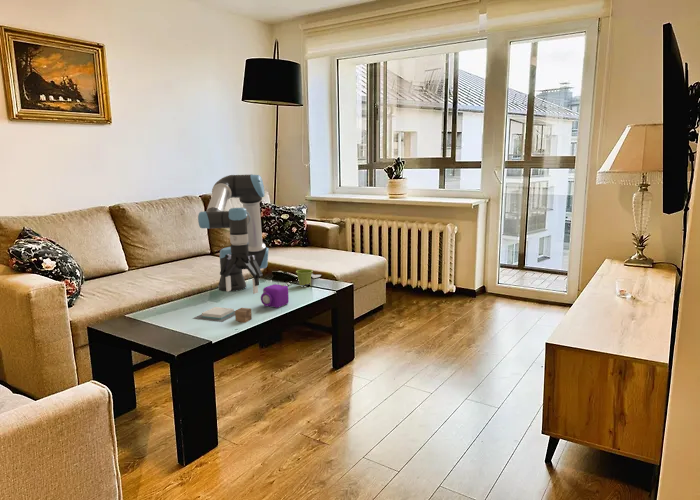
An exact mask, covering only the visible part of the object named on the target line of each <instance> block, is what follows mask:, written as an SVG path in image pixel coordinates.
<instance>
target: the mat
mask: <svg viewBox="0 0 700 500" xmlns="http://www.w3.org/2000/svg"><path fill="white" fill-rule="evenodd" d="M235 311H236V310H234V313H233V314H231V315H229V316H227V317H225V318H223V319H213V318H204V317H202V313H201V314H199V315H197V316H195V317H192V319H191V320H200V321H201V320H202V321H207V322H208V321H209V322H217V323H218V322H219V323H224V322H226V321H227V320H229V319H232V318H233V317H235Z"/></svg>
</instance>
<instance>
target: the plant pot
mask: <svg viewBox="0 0 700 500" xmlns="http://www.w3.org/2000/svg"><path fill="white" fill-rule="evenodd" d="M295 273H296V275H297V279H298V281H299V282H298V285H299V284H300V285H305V284H309V283H310V284H311V283H312V282H311V280H312V278H311V275H312V274H313V270H312V269H307V268H306V269H297V270H296V271H295Z"/></svg>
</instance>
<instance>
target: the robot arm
mask: <svg viewBox="0 0 700 500" xmlns="http://www.w3.org/2000/svg"><path fill="white" fill-rule="evenodd" d="M264 197H265V185H264V182H263V178H262V176H261V175H259V174H253V173H251V174H231V175H226V176H223V177H221V178H220V179H219V180H218V181H216V182H215V184H214V185H213V186H212V190H211V198H210V200H209V203H208V205H207V209H206V211H199V213H198V215H197V216H198V217H197V223H198V226H199V228H201V229H206V230H207V229H208V230H209V229H229V240H230V246H227V247H224V248H221V249H220V250H219V267H220V272H219V275H220V278H219V282H218V285H217V286H218V287H217V288H218V290H219V291H221V292H236V290H238V291H242V290H244V289H243V288H245V287H246V288H247V282H246V280H245V277H244V274H243V270H247V271H248V272H249V273H250V274H251V276H252V277H253V278H251V279H252V294H253V295H255V294H258V293H259V289H258V287H259V285H260V278H263V277H264V276H263V275H264V274H263V272H262V269H263V270H264V269H266V268H267V267H268V263H269V249H270V248H269V247H266V243H264V241H263V232H262V231H263V230H262V220H261V217H262V216H261V206H260V203H261V202H262V201H263V198H264ZM230 198H234V199H237V198H239V199H238V200H239V202H240V203H241V204H242V207H231V208H229V210H225V209H226V206H227V203H228V201H229V199H230ZM246 288H245V289H246ZM241 289H242V290H241Z"/></svg>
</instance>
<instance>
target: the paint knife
mask: <svg viewBox="0 0 700 500" xmlns="http://www.w3.org/2000/svg"><path fill="white" fill-rule="evenodd" d="M321 276H322V274H314V273H312V275H311V277H312V278H311V279H317V278H320V277H321ZM285 284H287V285H288V284H290V283H289V282H285Z"/></svg>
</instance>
